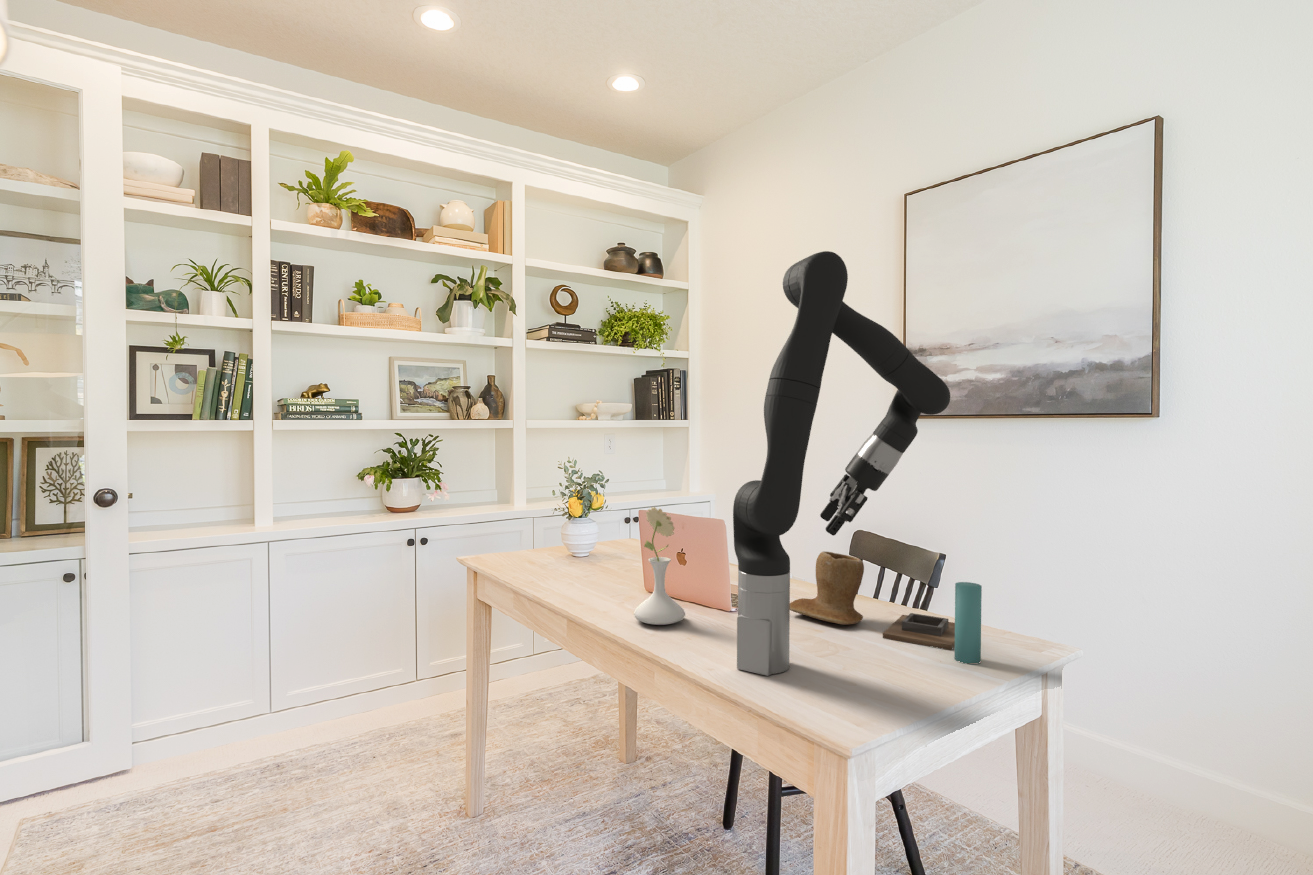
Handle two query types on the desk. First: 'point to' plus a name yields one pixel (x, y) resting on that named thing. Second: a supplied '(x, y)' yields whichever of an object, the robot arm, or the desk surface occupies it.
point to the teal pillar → (968, 622)
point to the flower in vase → (659, 578)
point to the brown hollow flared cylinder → (834, 590)
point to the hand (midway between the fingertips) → (826, 525)
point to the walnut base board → (923, 631)
